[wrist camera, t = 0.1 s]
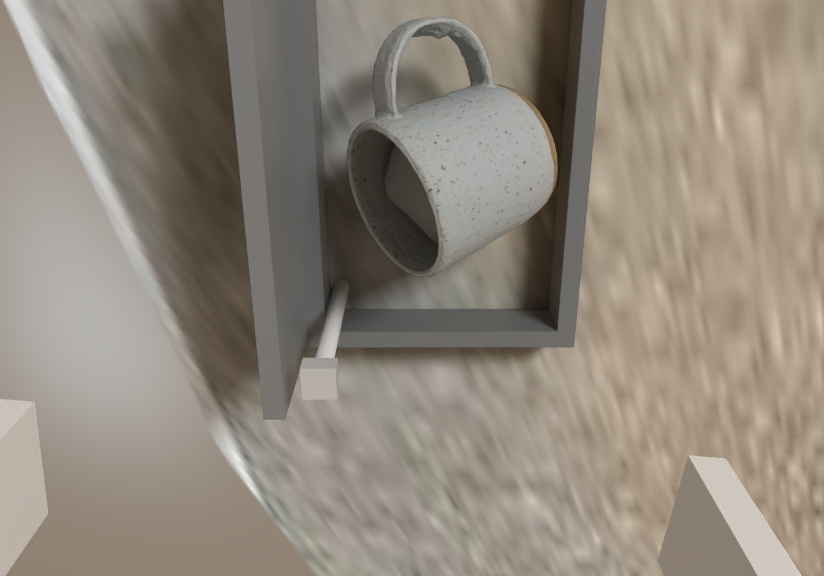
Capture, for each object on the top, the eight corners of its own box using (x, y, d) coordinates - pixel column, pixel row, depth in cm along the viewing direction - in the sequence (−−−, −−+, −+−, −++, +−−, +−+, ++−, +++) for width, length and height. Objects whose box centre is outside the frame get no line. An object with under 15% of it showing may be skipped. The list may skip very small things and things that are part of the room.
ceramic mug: (473, 172, 42) (566, 241, 37) (352, 227, 39) (436, 310, 34) (477, -13, 35) (594, 43, 30) (328, 35, 32) (431, 107, 27)
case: (266, -130, 35) (203, -176, 24) (603, -132, 35) (684, -178, 24) (298, 324, 44) (263, 431, 34) (563, 324, 44) (609, 431, 34)
